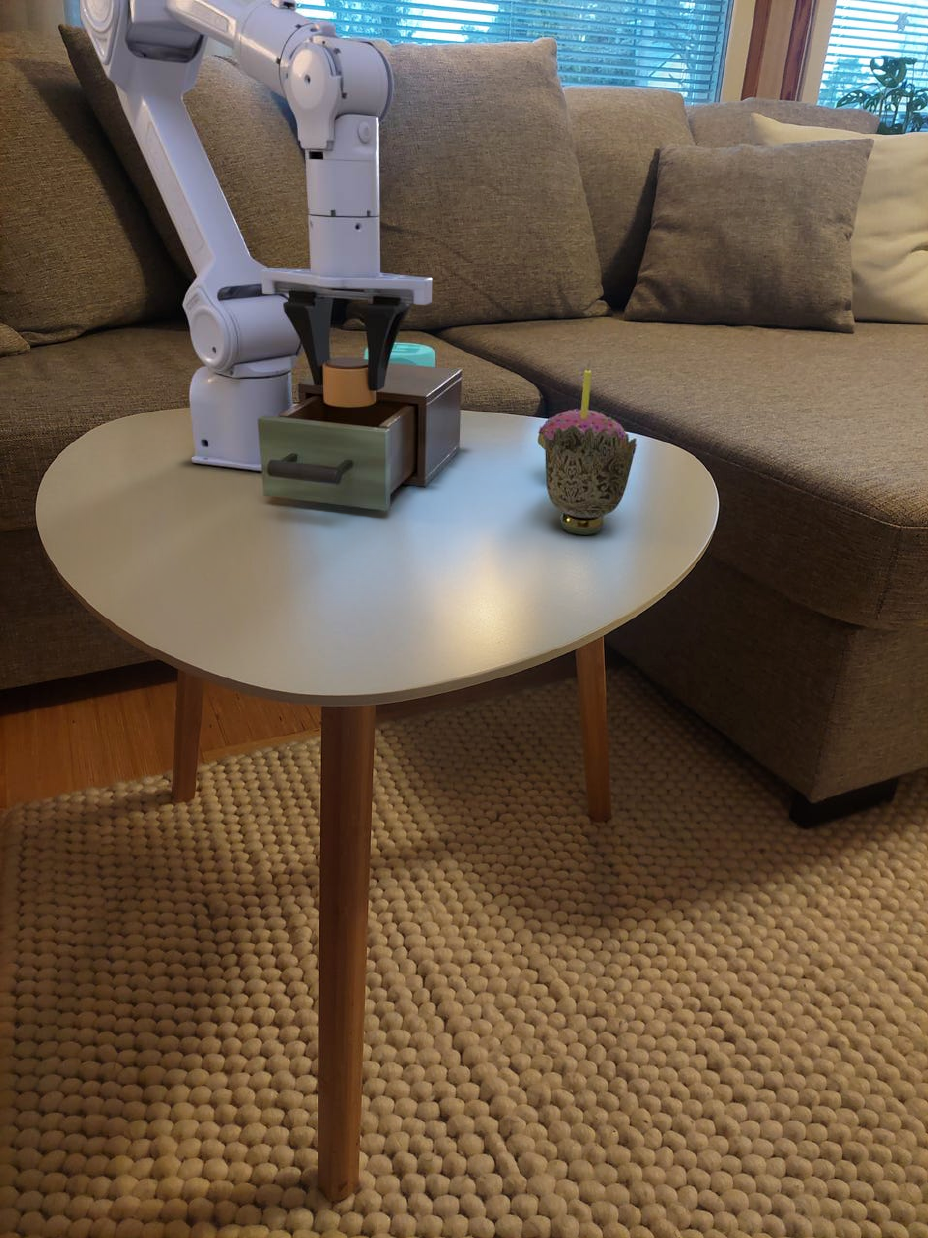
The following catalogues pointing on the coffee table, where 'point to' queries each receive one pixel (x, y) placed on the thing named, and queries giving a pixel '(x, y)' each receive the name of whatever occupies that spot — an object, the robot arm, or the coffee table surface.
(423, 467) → the cabinet
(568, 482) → the cup
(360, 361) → the orange short cylinder
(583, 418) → the cupcake
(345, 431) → the drawer
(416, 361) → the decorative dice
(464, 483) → the coffee table surface
